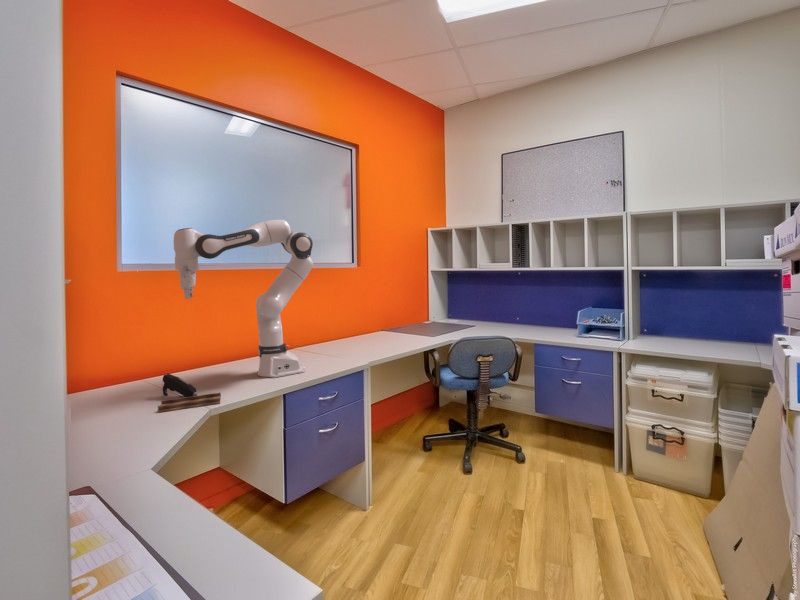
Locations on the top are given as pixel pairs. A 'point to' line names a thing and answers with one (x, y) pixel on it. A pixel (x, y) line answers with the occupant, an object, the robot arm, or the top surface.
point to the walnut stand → (189, 402)
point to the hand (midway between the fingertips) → (189, 298)
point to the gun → (178, 386)
